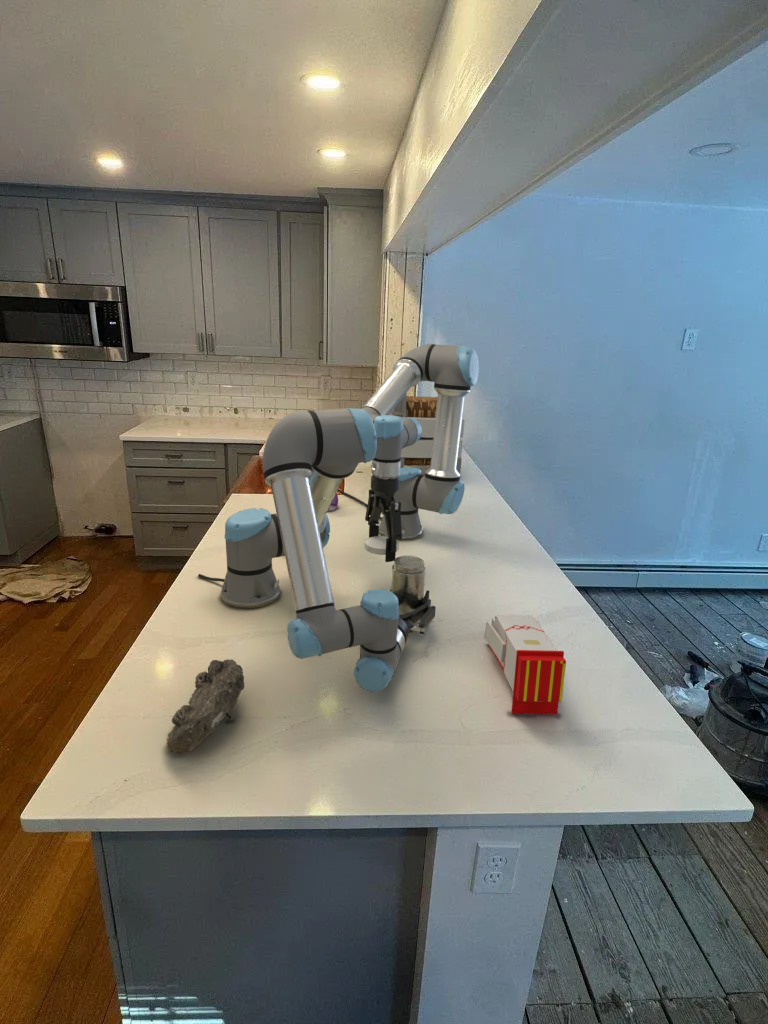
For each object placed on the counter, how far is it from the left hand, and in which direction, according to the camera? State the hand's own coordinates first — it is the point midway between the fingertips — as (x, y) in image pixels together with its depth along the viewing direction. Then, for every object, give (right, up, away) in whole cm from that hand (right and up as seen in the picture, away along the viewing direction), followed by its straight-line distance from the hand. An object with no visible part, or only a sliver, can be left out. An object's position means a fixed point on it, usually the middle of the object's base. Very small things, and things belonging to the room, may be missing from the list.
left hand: (410, 592), depth 146 cm
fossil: (-40, -18, -38) cm, 58 cm away
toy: (+23, -15, -21) cm, 34 cm away
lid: (-7, +12, +9) cm, 17 cm away
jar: (-1, -7, -2) cm, 8 cm away
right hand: (-8, +9, +10) cm, 15 cm away
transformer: (+10, +40, +129) cm, 135 cm away
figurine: (-29, +22, +75) cm, 84 cm away
